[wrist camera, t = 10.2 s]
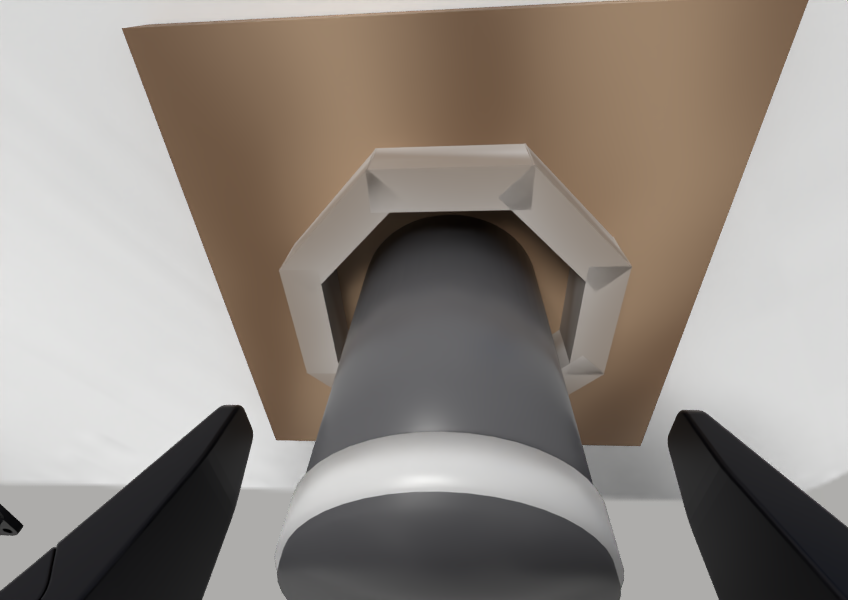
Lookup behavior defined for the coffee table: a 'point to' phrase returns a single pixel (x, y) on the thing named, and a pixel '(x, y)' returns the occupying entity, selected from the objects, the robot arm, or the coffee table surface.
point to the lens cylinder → (448, 440)
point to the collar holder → (468, 169)
